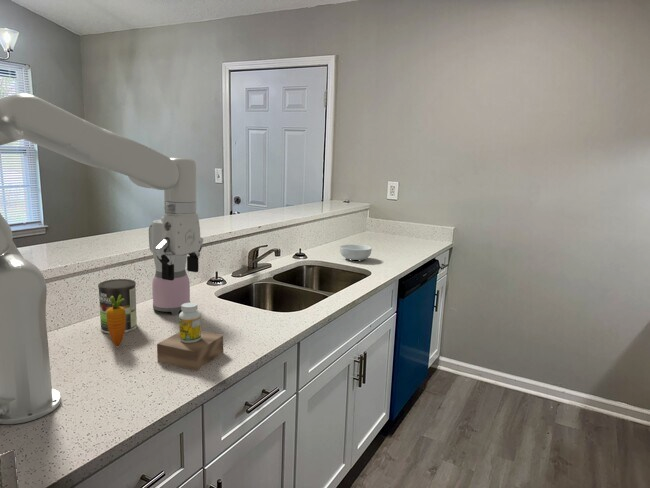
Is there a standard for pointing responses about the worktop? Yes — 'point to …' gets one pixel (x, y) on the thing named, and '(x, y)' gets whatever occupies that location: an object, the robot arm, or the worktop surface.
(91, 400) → the worktop surface
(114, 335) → the carrot
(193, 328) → the supplement bottle
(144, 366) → the worktop surface
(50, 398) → the robot arm
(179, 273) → the blender
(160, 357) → the brown cardboard box
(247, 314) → the worktop surface
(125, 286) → the food can
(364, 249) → the cereal bowl
